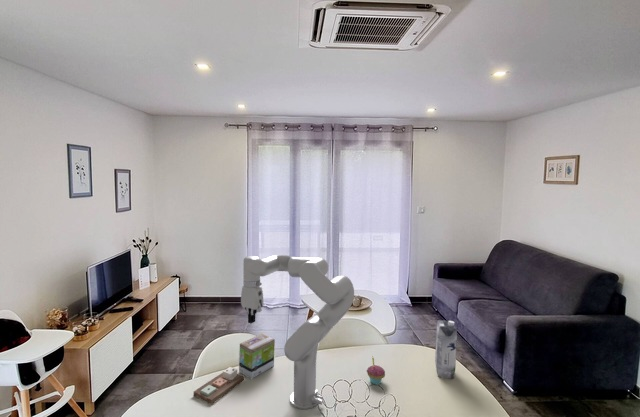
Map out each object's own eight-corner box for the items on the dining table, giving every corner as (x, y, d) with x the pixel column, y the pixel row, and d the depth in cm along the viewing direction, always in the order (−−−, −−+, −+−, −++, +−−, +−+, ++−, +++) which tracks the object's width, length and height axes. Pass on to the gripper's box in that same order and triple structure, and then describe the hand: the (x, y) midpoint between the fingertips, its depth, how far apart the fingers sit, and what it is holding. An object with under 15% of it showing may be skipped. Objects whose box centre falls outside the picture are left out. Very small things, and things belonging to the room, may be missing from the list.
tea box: (252, 379, 158) (252, 349, 157) (238, 372, 164) (238, 343, 163) (274, 366, 170) (275, 338, 169) (261, 359, 176) (261, 332, 175)
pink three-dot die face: (227, 386, 152) (227, 380, 152) (219, 392, 148) (219, 385, 148) (220, 383, 154) (220, 377, 154) (212, 389, 150) (212, 382, 150)
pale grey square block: (216, 394, 146) (216, 387, 146) (208, 400, 142) (208, 393, 142) (209, 391, 149) (209, 384, 148) (200, 396, 145) (200, 390, 144)
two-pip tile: (237, 375, 158) (237, 369, 157) (230, 380, 154) (230, 373, 153) (230, 372, 160) (230, 366, 160) (223, 377, 156) (223, 371, 156)
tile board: (244, 380, 157) (244, 376, 157) (211, 404, 140) (211, 399, 140) (227, 373, 163) (227, 369, 162) (193, 395, 145) (193, 391, 145)
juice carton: (436, 378, 162) (438, 324, 160) (434, 366, 172) (436, 316, 170) (455, 380, 160) (458, 326, 158) (452, 369, 170) (455, 317, 168)
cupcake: (364, 383, 157) (364, 358, 156) (370, 374, 164) (370, 350, 163) (381, 388, 153) (382, 363, 152) (387, 379, 160) (388, 355, 159)
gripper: (269, 283, 152) (269, 322, 153) (244, 278, 159) (244, 316, 160) (259, 288, 145) (259, 329, 147) (233, 282, 152) (233, 321, 154)
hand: (251, 322), depth 153 cm, fingers closed
